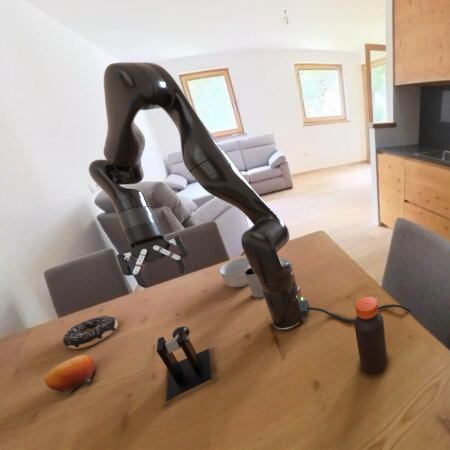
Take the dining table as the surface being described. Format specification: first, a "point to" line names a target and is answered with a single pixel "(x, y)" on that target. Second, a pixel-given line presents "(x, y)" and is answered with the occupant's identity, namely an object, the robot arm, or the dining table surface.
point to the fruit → (70, 374)
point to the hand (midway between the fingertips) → (165, 279)
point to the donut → (90, 332)
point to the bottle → (370, 336)
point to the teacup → (235, 272)
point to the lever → (175, 340)
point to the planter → (254, 283)
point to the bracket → (184, 366)
